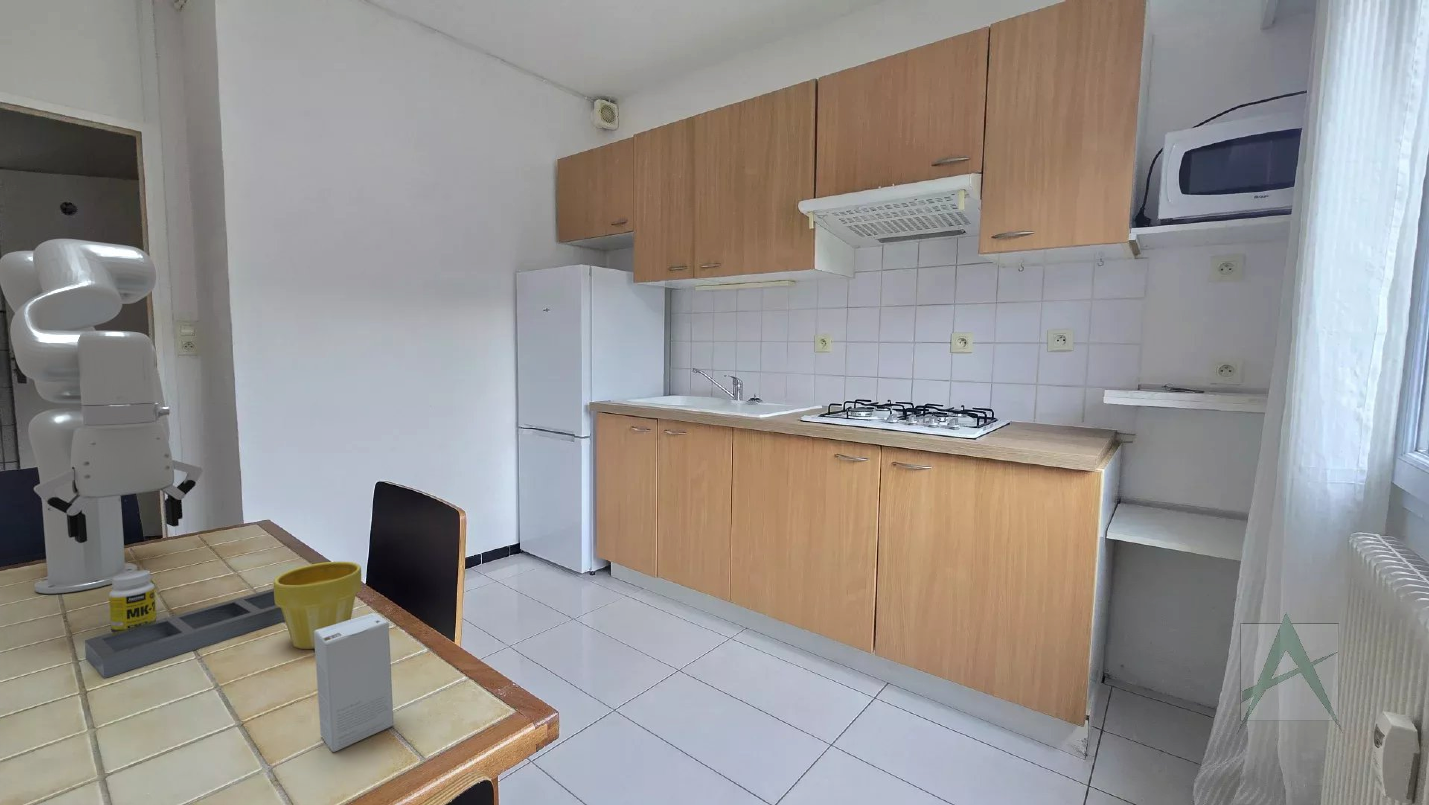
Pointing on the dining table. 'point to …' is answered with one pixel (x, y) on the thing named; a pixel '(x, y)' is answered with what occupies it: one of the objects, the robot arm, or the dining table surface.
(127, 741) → the dining table surface
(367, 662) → the skincare box
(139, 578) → the supplement bottle
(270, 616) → the grey long slotted tray
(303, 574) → the plant pot
